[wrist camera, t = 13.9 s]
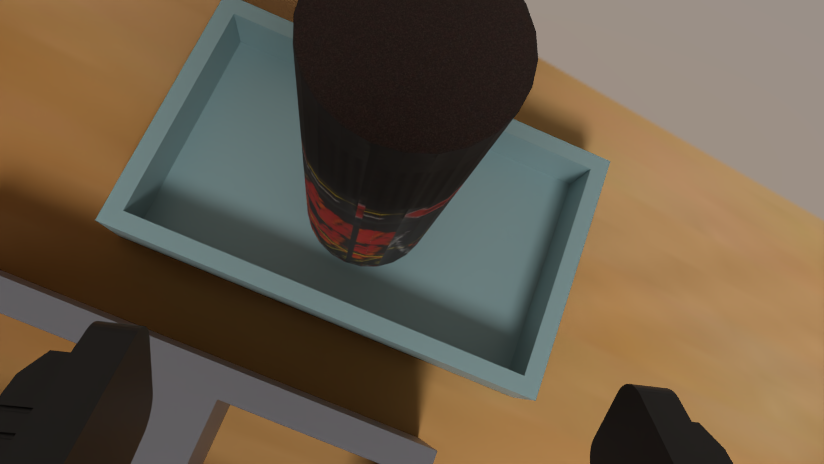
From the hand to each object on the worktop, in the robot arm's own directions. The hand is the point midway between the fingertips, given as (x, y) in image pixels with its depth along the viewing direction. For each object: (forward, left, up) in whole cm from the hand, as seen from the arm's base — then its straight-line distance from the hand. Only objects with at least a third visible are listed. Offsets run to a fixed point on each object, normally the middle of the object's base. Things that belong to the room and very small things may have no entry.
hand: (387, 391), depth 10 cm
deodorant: (+3, +7, -17) cm, 19 cm away
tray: (+4, +8, -18) cm, 19 cm away
